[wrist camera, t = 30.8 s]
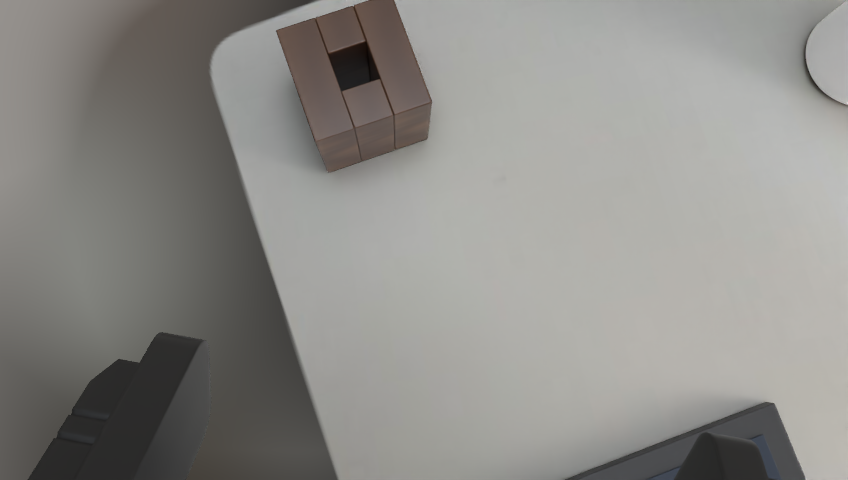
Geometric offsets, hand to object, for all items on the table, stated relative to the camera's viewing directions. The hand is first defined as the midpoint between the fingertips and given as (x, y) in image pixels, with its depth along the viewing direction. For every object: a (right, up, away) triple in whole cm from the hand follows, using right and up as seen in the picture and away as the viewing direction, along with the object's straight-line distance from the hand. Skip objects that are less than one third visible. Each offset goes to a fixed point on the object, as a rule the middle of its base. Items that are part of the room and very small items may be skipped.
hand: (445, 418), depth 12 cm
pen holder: (-4, +11, +35) cm, 37 cm away
